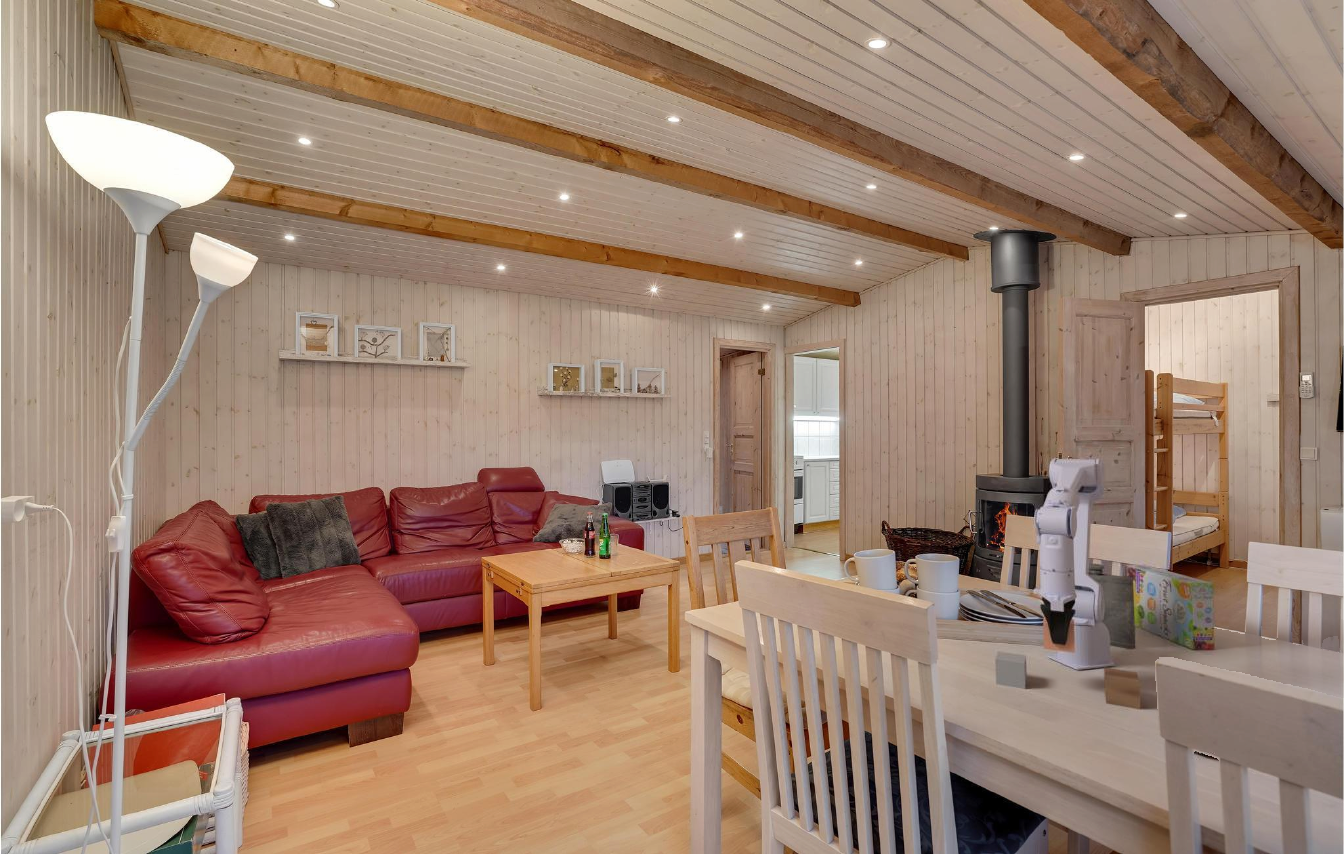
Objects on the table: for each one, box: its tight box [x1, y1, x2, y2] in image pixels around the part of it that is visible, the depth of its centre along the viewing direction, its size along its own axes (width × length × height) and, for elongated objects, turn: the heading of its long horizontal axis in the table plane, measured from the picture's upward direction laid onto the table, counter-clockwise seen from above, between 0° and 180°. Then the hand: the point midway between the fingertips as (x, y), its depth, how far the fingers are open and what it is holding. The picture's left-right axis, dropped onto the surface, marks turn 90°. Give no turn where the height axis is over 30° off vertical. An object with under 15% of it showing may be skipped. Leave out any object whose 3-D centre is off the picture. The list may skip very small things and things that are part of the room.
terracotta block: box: [1042, 615, 1075, 653], centre depth 120 cm, size 5×5×5 cm
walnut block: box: [1103, 667, 1141, 710], centre depth 113 cm, size 5×5×5 cm
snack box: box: [1124, 564, 1215, 651], centre depth 149 cm, size 21×6×15 cm, turn 179°
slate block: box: [994, 651, 1028, 690], centre depth 123 cm, size 5×5×5 cm
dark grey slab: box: [1075, 563, 1136, 650], centre depth 146 cm, size 4×14×18 cm, turn 36°
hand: (1059, 639), depth 120 cm, fingers closed on terracotta block, 5 cm apart
